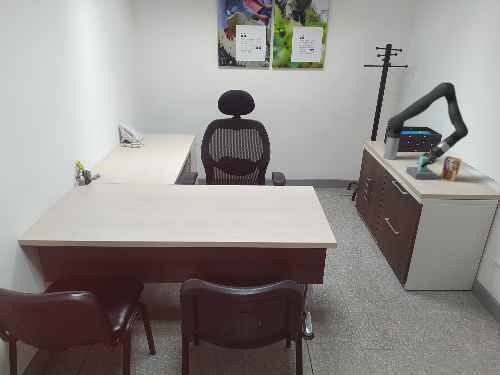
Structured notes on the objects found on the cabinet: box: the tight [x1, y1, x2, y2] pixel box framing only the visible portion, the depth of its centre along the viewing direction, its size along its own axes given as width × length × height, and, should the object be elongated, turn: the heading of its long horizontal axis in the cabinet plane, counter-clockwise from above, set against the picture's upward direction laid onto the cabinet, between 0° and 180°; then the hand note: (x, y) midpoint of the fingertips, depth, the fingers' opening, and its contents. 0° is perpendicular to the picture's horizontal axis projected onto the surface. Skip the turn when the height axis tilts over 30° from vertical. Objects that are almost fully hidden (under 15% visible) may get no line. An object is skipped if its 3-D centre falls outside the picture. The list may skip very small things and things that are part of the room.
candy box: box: [440, 155, 462, 182], centre depth 246 cm, size 9×4×15 cm, turn 39°
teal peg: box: [416, 155, 429, 172], centre depth 251 cm, size 4×4×11 cm
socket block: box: [405, 166, 437, 180], centre depth 253 cm, size 14×14×4 cm
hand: (419, 165), depth 251 cm, fingers closed on teal peg, 4 cm apart
